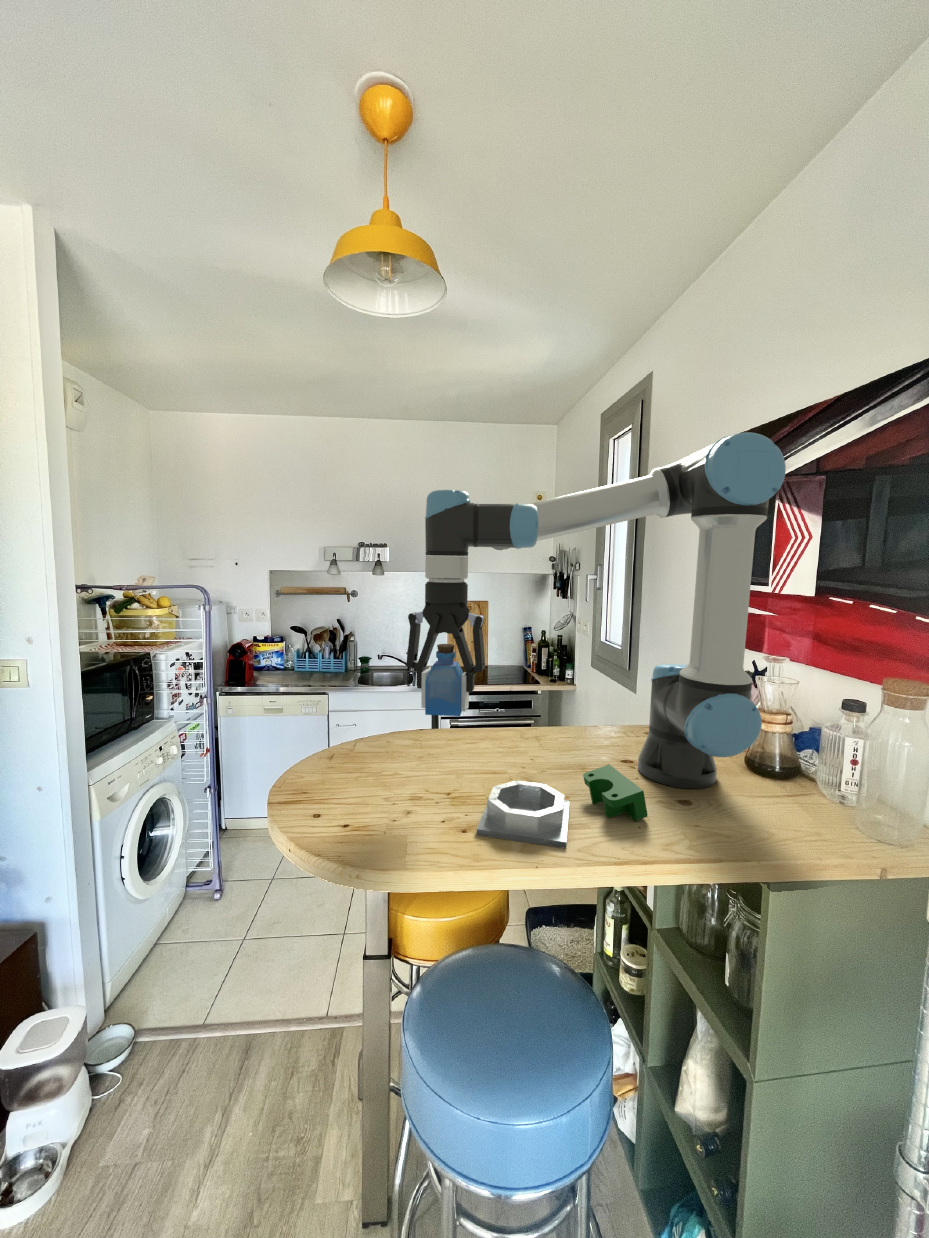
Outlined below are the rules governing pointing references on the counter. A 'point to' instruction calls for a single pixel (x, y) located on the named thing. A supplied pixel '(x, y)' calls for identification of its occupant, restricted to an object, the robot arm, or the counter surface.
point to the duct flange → (526, 814)
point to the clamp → (616, 793)
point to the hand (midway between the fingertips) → (445, 707)
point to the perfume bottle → (444, 684)
